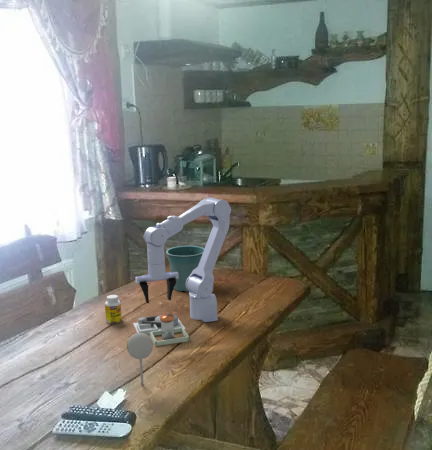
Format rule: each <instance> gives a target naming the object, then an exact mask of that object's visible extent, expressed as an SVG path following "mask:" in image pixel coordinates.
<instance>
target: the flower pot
mask: <svg viewBox="0 0 432 450" xmlns="http://www.w3.org/2000/svg"><path fill="white" fill-rule="evenodd" d="M204 249H205V247H203V246H198V245H182V246H174V247H170V248H168V249H167V250H166V251H165V253H166V255H167V259H168V262H169V268H170V272H178V275H179V279H176V284H175V286H174V289H173V290H175V291H177V292H182V291H184V292H188V293H189V290H187V288H186V280H187V278H188V277H189V276H190V275H191V273H192V271H193V270H194V269H195V268H197V267H198V265H199V262H200V260H201V257H202V254H203V252H204Z"/></svg>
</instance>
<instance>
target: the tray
mask: <svg viewBox="0 0 432 450" xmlns="http://www.w3.org/2000/svg"><path fill="white" fill-rule="evenodd" d="M175 333H176V334H177V333H182V335H183V336H182V337H174V338H173V339H168V340H164V339H162V340H157V339H156V336H162V330H159V331H152V332H150V334H149V337H150V338H151V340H152V342H153V345H154V346H155V347H157V346H158V347H159V346H164V345H165V346H166V345H173V344H179V343H184V342H190V341H191V340H190V338H191V337H190V336H189V333H187V332H186V329H183V327H180V328H174V334H175Z"/></svg>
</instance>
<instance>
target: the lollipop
mask: <svg viewBox="0 0 432 450" xmlns="http://www.w3.org/2000/svg"><path fill="white" fill-rule="evenodd" d="M153 349H154V342H153V340H152V339H151V337H150V335H149V334H144V333H138V332H136V333H134V334H132V335H131V336H130V337H129V339H128V340H127V344H126V350H127V352H128V354H129V356H130V357H131V358H133V359H136V360H139V372H140V385H141V386H143V385H144V375H143V374H144V372H143V360H144V359H146V358H147V357H149V356H150V354H152V351H153Z"/></svg>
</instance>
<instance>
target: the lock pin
mask: <svg viewBox="0 0 432 450" xmlns="http://www.w3.org/2000/svg"><path fill="white" fill-rule="evenodd" d="M174 315H175V314H172V313H164V314H161V316H160V321H161V330H162V335H161V339H162V340H168V339H175V333H174V324H173V320H174Z"/></svg>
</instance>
